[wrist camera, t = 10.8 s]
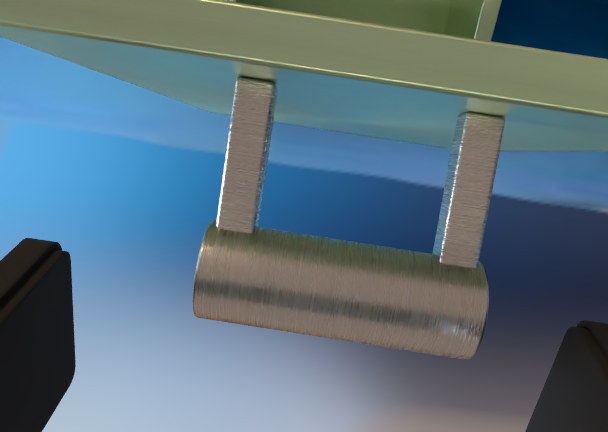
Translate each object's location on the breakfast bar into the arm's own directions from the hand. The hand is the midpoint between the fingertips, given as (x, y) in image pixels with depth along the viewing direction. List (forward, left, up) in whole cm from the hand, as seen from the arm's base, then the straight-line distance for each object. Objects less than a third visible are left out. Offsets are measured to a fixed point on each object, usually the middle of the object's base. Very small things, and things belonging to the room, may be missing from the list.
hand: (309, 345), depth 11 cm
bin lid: (-2, +2, -9) cm, 10 cm away
